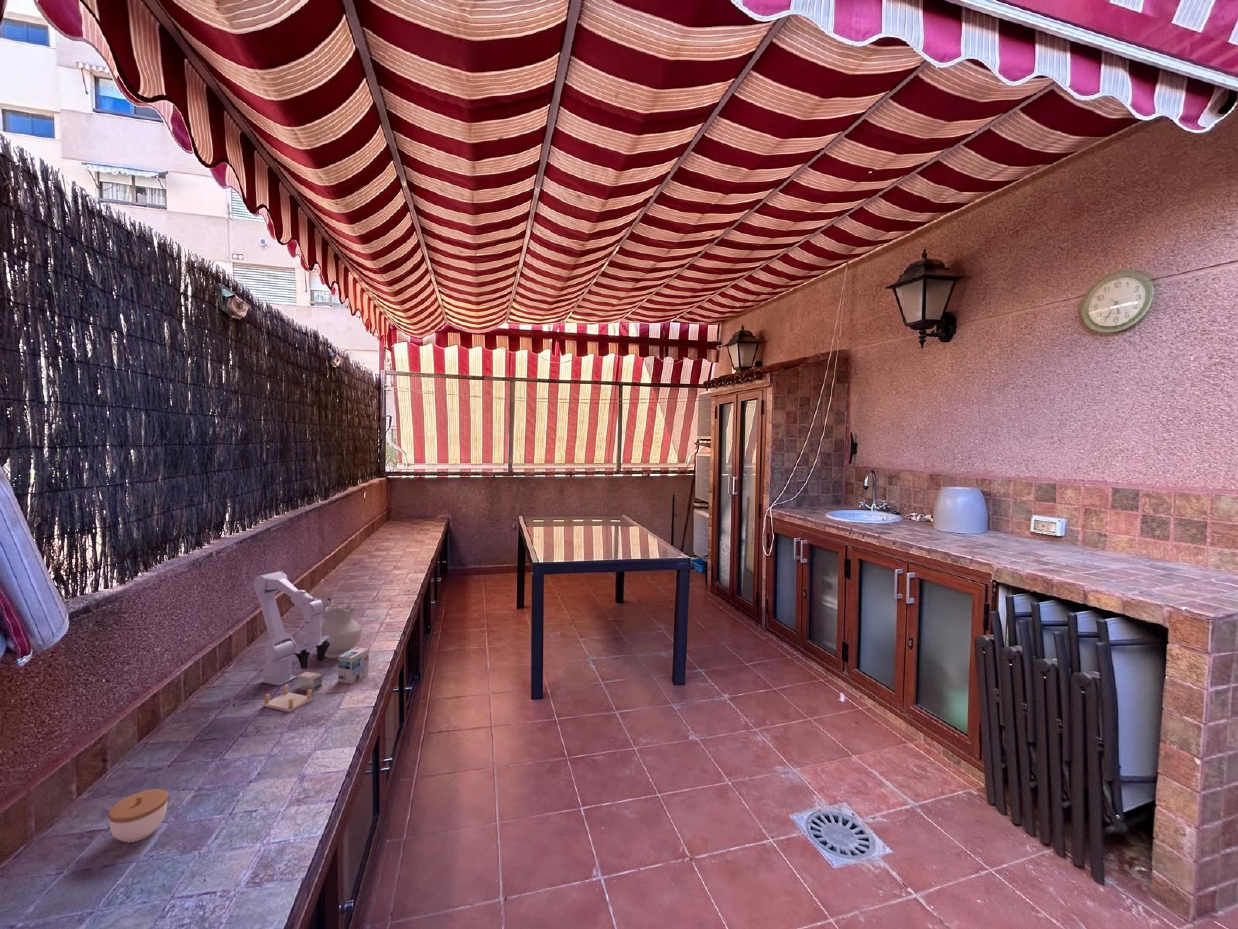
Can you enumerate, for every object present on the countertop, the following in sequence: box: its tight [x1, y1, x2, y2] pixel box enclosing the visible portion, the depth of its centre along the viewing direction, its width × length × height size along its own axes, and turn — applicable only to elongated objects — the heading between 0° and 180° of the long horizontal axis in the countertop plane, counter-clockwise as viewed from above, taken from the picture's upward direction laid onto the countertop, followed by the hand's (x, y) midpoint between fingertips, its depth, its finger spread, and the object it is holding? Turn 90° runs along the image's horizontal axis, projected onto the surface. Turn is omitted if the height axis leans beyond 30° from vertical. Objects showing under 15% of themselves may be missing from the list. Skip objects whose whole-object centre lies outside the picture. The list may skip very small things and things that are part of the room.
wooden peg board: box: [263, 684, 313, 713], centre depth 191 cm, size 13×10×4 cm
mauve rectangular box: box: [296, 671, 323, 693], centre depth 204 cm, size 8×4×5 cm, turn 74°
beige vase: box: [321, 596, 363, 660], centre depth 238 cm, size 22×20×25 cm
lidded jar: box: [108, 788, 169, 844], centre depth 126 cm, size 11×11×9 cm
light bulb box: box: [337, 646, 370, 685], centre depth 214 cm, size 11×7×11 cm, turn 168°
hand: (312, 664), depth 203 cm, fingers open, 7 cm apart
